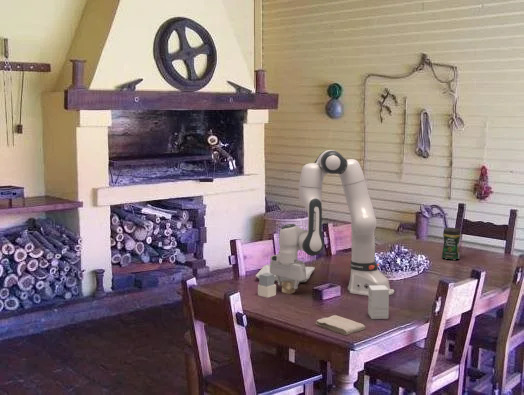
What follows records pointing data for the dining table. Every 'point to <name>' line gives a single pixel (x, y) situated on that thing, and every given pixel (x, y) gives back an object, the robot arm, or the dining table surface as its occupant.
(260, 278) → the tower top
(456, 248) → the coffee jar
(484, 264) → the dining table surface
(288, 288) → the beech cube
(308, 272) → the square plate
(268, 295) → the tower base
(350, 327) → the washcloth
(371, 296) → the supplement box
